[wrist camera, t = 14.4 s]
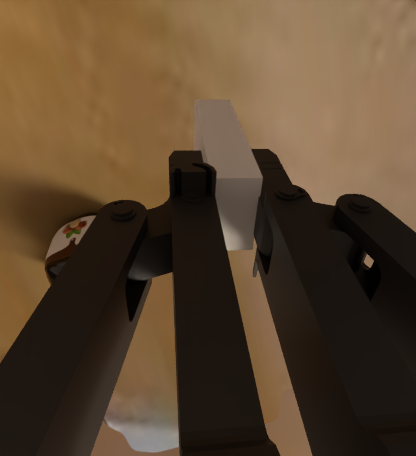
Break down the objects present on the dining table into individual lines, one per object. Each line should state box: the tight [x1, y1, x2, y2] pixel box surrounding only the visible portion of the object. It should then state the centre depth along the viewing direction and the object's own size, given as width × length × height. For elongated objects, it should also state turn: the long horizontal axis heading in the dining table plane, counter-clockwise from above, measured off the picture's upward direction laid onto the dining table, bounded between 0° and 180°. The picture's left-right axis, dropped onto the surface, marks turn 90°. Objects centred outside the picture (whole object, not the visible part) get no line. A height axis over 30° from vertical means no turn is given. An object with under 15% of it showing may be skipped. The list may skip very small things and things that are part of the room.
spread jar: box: [45, 213, 98, 285], centre depth 46 cm, size 12×11×12 cm
